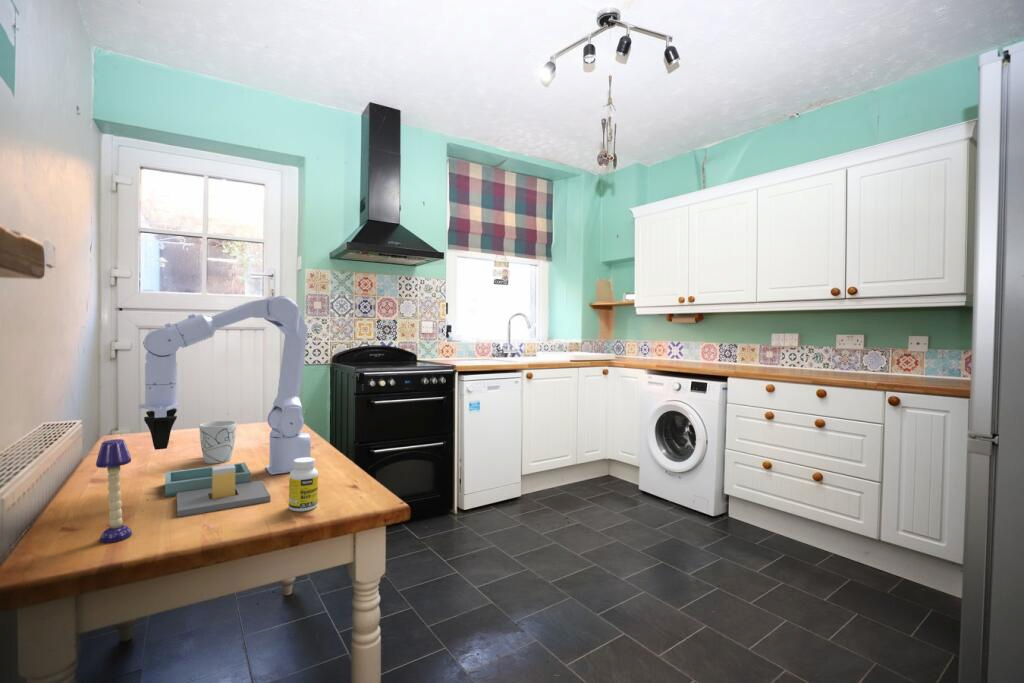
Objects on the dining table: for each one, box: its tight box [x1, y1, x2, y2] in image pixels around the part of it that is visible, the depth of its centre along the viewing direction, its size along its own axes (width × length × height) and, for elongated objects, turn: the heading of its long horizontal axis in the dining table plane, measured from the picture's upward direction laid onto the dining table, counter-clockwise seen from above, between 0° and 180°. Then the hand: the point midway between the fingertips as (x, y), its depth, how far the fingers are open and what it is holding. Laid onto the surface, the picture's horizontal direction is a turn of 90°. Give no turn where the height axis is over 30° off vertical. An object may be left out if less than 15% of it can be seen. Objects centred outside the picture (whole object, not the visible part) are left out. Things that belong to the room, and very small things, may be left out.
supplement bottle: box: [288, 457, 319, 512], centre depth 99 cm, size 5×5×10 cm
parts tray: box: [164, 462, 251, 498], centre depth 111 cm, size 16×10×3 cm, turn 125°
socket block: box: [176, 480, 271, 518], centre depth 102 cm, size 16×12×1 cm
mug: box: [199, 420, 237, 465], centre depth 132 cm, size 11×8×10 cm
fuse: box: [211, 463, 235, 499], centre depth 102 cm, size 4×3×7 cm
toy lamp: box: [95, 438, 133, 544], centre depth 83 cm, size 5×5×17 cm
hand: (161, 445), depth 107 cm, fingers open, 7 cm apart
